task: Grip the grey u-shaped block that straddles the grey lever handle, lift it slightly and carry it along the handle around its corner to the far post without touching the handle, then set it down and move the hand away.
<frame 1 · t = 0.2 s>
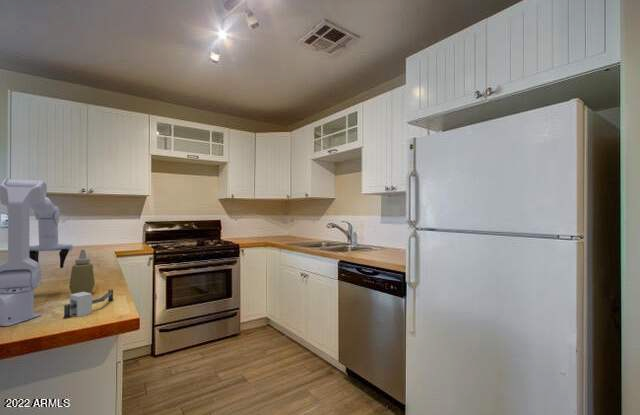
hand: (49, 268, 122), 11 cm above the counter, tool pointing down, fingers open, 7 cm apart
grey lever handle: (101, 308, 106), on the counter
grey u-shaped block: (80, 313, 100), on the counter
squeeze bottle: (82, 295, 122), on the counter
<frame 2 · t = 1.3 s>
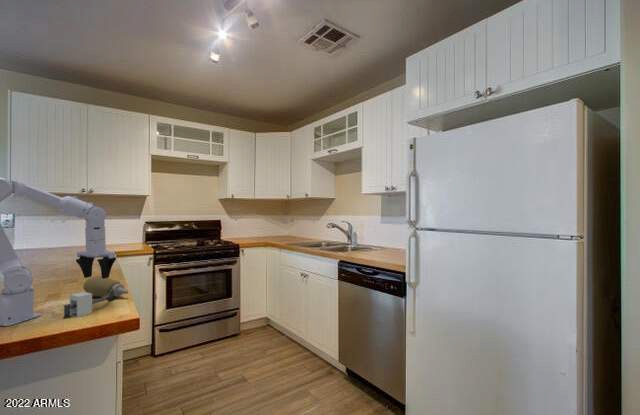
hand: (96, 277, 109), 10 cm above the counter, tool pointing down, fingers open, 7 cm apart
squeeze bottle: (89, 284, 122), point 4 cm above the counter
everything else where it was.
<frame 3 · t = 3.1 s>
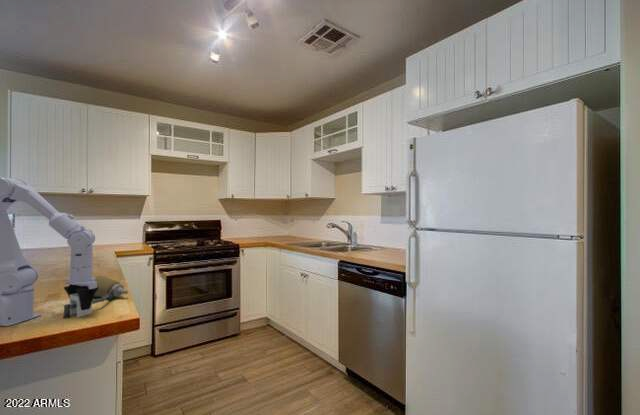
hand: (80, 308, 100), 2 cm above the counter, tool pointing down, fingers closed on grey u-shaped block, 5 cm apart
grey u-shaped block: (80, 313, 100), on the counter, touching gripper
everything else where it was.
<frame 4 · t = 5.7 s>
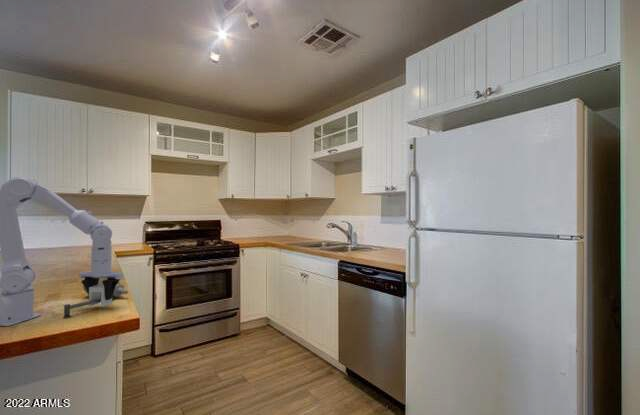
hand: (100, 299, 106), 3 cm above the counter, tool pointing down, fingers closed on grey u-shaped block, 5 cm apart
grey u-shaped block: (100, 304, 106), point 1 cm above the counter, touching gripper
everything else where it was.
when the fingers open (2 cm above the counter, at t = 8.3 s): grey u-shaped block stays where it is, on the counter.
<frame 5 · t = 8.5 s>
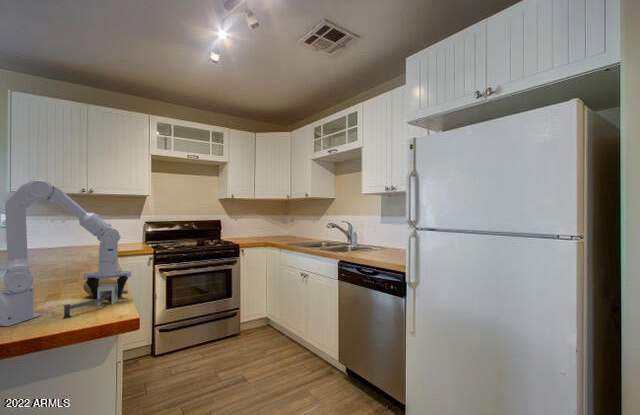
hand: (107, 297, 112), 2 cm above the counter, tool pointing down, fingers open, 7 cm apart
grey u-shaped block: (107, 303, 112), on the counter
everything else where it was.
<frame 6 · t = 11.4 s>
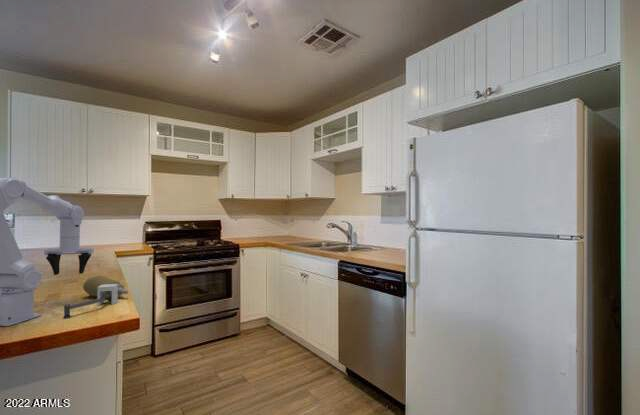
hand: (69, 273, 113), 10 cm above the counter, tool pointing down, fingers open, 7 cm apart
nothing on the counter moved.
at the end: grey u-shaped block 0.1 cm from the target spot, on the counter; grey u-shaped block touching counter; grey u-shaped block tilted 0° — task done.
